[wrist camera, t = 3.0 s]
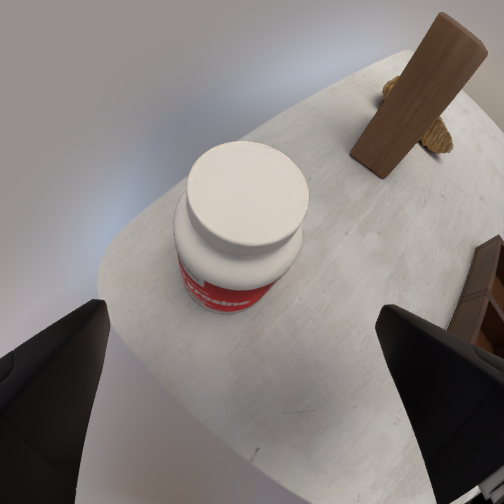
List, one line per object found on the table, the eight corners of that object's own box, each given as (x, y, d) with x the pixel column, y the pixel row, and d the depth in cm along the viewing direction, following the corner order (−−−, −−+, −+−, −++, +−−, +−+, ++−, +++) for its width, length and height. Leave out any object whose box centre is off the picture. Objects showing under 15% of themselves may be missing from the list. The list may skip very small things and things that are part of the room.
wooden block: (372, 118, 30) (442, 7, 14) (401, 140, 30) (480, 36, 13) (348, 155, 27) (439, 12, 10) (383, 181, 27) (490, 53, 10)
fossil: (387, 86, 35) (370, 97, 30) (409, 63, 30) (397, 69, 25) (440, 144, 35) (433, 166, 31) (464, 124, 30) (463, 143, 26)
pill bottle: (165, 283, 20) (130, 203, 9) (213, 219, 22) (226, 108, 12) (240, 332, 19) (283, 301, 9) (282, 262, 22) (348, 177, 11)
